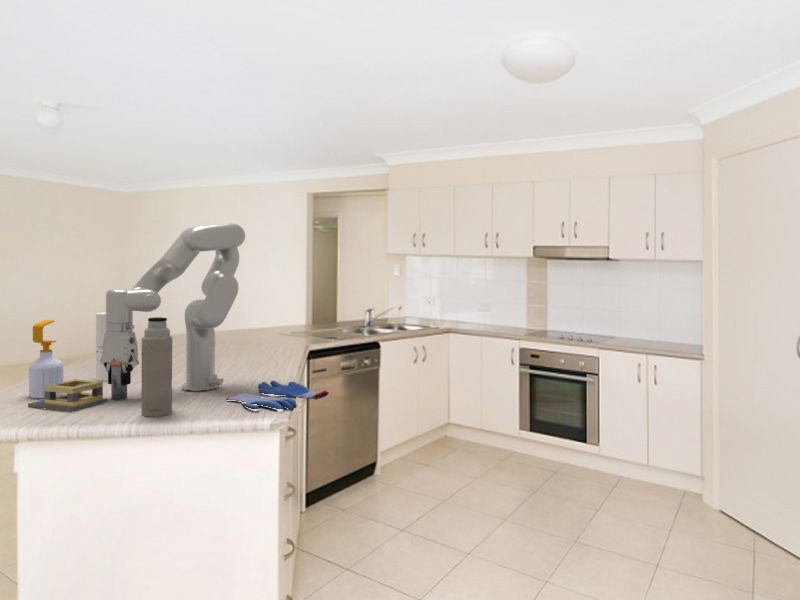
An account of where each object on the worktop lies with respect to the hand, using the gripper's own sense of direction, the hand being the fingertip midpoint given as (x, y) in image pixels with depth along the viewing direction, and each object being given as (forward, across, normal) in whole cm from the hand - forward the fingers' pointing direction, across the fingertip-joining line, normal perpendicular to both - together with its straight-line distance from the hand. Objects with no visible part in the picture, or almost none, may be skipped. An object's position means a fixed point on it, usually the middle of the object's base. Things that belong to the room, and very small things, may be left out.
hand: (119, 383), depth 160 cm
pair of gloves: (+6, -47, -17) cm, 50 cm away
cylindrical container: (+5, +27, -22) cm, 35 cm away
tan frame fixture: (+5, +8, +11) cm, 14 cm away
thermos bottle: (+5, -23, +10) cm, 26 cm away
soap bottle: (+5, +24, +5) cm, 25 cm away
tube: (+5, 0, 0) cm, 5 cm away
